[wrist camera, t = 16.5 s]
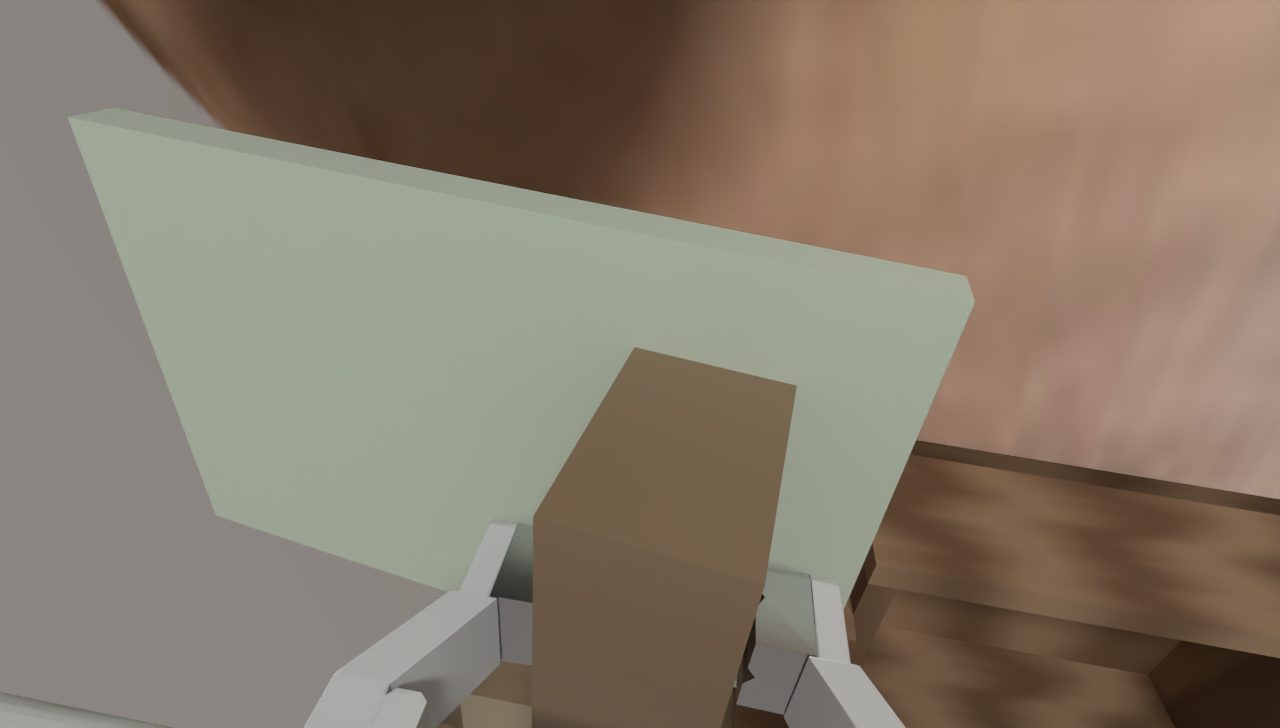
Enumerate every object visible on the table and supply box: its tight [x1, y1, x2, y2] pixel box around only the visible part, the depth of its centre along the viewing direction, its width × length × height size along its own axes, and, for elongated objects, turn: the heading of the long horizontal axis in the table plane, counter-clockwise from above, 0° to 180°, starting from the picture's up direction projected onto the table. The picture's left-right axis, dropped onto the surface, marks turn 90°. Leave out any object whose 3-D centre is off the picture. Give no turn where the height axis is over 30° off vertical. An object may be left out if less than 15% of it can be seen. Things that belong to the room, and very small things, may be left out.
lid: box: [68, 108, 975, 728], centre depth 14 cm, size 17×11×6 cm, turn 84°
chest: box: [732, 440, 1280, 728], centre depth 25 cm, size 22×12×12 cm, turn 85°
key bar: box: [436, 661, 733, 728], centre depth 23 cm, size 12×4×3 cm, turn 85°
